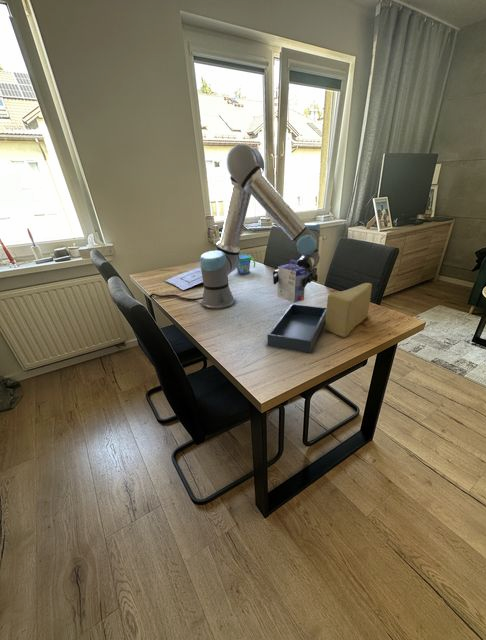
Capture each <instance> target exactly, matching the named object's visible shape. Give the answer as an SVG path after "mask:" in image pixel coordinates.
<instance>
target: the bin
mask: <svg viewBox="0 0 486 640" xmlns="http://www.w3.org/2000/svg"><path fill="white" fill-rule="evenodd" d="M326 310H327V307H323V306H317V305H307V304H300V303H291V304H290V305H289V306H288V307H287V309H286V310H285V311H284V312H283V314H282V315H281V316H280V318H279V319H278V320H277V321H276V323H275V324H274V325H273V327H272V328H271V329H270V331H269V332H268V333H267V334H266V335H267V346H269V347H274V348H280V349H285V350H292V351H296V352H302V353H308V354H311V352H312V350H313V348H314V345H316V341H317V340H318V337H319V335H320V333H321V331H322V329H323V326H324V324H326Z"/></svg>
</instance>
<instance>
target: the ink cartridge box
mask: <svg viewBox="0 0 486 640" xmlns="http://www.w3.org/2000/svg"><path fill="white" fill-rule="evenodd" d="M295 263H296V264H295ZM297 263H298V260H296V259H292V258H291V259H290V261H289V263H287V264H282V265H279V266H277V269H278V282H277V297H278V298H281V299H282V300H286V301H289V302H291V303H292V304H296V303H298V302H302V301H304V300H305V288H306V286H305V287H303V279H304V278H305V271H306V269H305V268H301V267H297Z"/></svg>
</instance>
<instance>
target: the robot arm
mask: <svg viewBox="0 0 486 640" xmlns="http://www.w3.org/2000/svg"><path fill="white" fill-rule="evenodd" d="M226 168H227V171H228V173H229V177H230V178H229V182H230V183H231V185H232V186H231V191H230V195H229V200H228V204H227V208H226V213H225V218H224V222H223V227H222V232H221V236H220V240H218V241H217V242H216V244H215V249H214V250H209V251H206V252H204V253H202V254H201V256H200V257H199V266H200V267H201V271H202V278H203V282H202V283H203V293H202V296H200V297H195V298H194V297H192V298H190V297H183V296H180V295H178V294H157V293H155V292H154V293H153V292H151V293H150V295H149V297H153V296H155V297H158V298H170V297H176V298H179V299H180V300H185V301H198V300H201V304H202V306H203V307H204V308H207V309H211V310H220V309H226V308H228V307H231V306H232V305H234V303H235V298H234V295H233V292H232V291H231V288H230V286H229V285H230V284H229V276H228V275H230V274H231V273H232V272H234V271H235V270H237V266H238V264H239V260H240V258H239V255H240V254H241V253H240V252H241V248H240V247H239V243H240V239H241V235H242V231H243V228H244V224H245V220H246V217H247V212H248V209H249V205H250V202H251V201H250V200H251V196H253V199H255V200H256V201H257V202H258V203H259V205H260V206H261V207H262V208H263V209H264V210H265V212H266V213H267V214H268V215H269V216H270V217H271V219H272V220H273V221H274V222H275V223H276V224H277V225H278V226H279V228H280V229H281V230H282V231H283V232H284V233H285V234H286V236H287V237H288V238H289V239H290V240H291V242H293V244H294V245H295V246H296V250H297V252H298V253H299V254H300V255H301V257H299V258H298V259H297V261H298V263H297V267H301V268H305V269H306V271H305V278H304V279H303V287H305V288H306V286H307V285H308V284H311V282H313V281H314V282H318V280H319V273H318V272H317V271H318V268H317V266H318V264H319V262H320V260H321V259H320V258H321V257H320V254H319V249H320V248H319V246H320V237H321V236H320V234H321V225H320V223H316V222H308V223H304V222H303V220H302V219H301V218H300V217H299V216H298V215H297V214H296V212H295V211H294V210H293V209H292V208H291V206H290V205H289V204H288V203H287V202H286V201H285V199H284V198H283V197H282V196H281V194H280V193H278V191H277V190H276V189H275V188H274V187H273V185H272V183H271V182H270V181H269V180H268V179H267V178H266V176H264V175H263V174H264V171H265V158H264V156H263V154H262V153H261V151H260V150H259V149H257V148H256V147H254V146H251V145H247V144H242V143H239V144H236V145H234V146H232V147H231V148H230V150H229V151H228V153H227V156H226ZM294 264H296V263H295V262H294ZM272 279H273V280H272V281H273V283H272V284H273V285H276V284H278V268H277V269H275V270H273V271H272Z"/></svg>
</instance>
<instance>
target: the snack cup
mask: <svg viewBox="0 0 486 640" xmlns="http://www.w3.org/2000/svg"><path fill="white" fill-rule="evenodd" d="M239 258H240V260H239V264H238V266H237V267H236V272H237V274H239V275H243V274H244V275H245V274H249V273H250V268H251V261H252V262H253V268H255V267H256V261H255V259H254V257H252V256H251V255H250V254H239Z"/></svg>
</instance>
